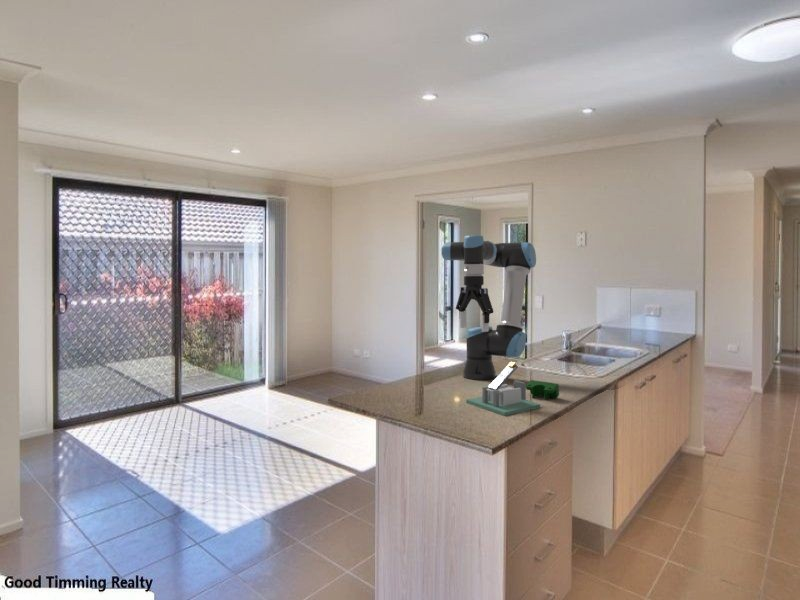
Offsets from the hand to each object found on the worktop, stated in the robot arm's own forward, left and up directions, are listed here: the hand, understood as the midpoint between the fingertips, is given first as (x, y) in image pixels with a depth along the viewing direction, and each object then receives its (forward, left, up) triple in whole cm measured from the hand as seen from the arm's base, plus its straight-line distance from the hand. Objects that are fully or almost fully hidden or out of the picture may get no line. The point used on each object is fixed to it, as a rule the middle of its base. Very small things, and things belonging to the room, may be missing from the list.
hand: (473, 329), depth 196 cm
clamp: (-21, +16, -27) cm, 38 cm away
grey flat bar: (-2, +15, -16) cm, 22 cm away
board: (-1, +15, -27) cm, 31 cm away
